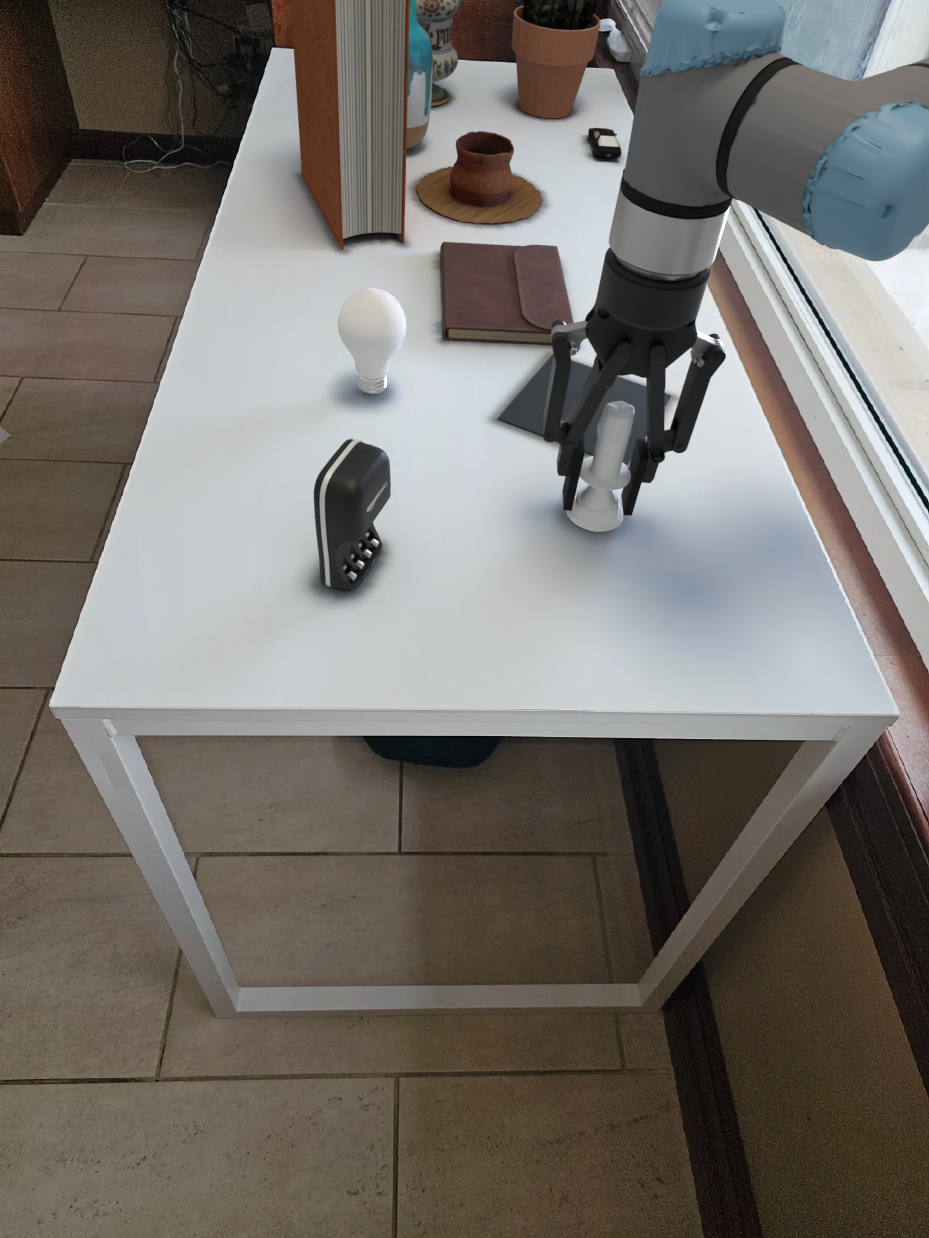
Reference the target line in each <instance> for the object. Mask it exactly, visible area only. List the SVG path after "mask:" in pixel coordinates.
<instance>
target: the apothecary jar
mask: <svg viewBox="0 0 929 1238" xmlns="http://www.w3.org/2000/svg"><path fill="white" fill-rule="evenodd" d="M462 2H463V1H462V0H416V11H417V22H418V24H419V26H421V27H422V28H423V29H424V30H426V32H427V33H428V35H429V37H430V41H431V47H432V62H433V74H432V99H431V107H438V106H442V105H444V104H446V103H447V102H449V100H450V96H449V95H448V91H447V90H446V89H445V88H443V87H441V86H440V85H438V84H437V83H435V82H439V81H443V80H445V79H447V78H448V77H450V76H451V75H452V74H453V73H454V72H455V71H456V69H457V67H458V64H459V56H458V53H457V51H456V49H455V48H454V47H453V46H452V37H453V35H452V34H453V21H454V20H453V19H454V14H455V13H457V12H458V11H459V9H460V8H461V5H462Z"/></svg>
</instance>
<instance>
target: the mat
mask: <svg viewBox="0 0 929 1238" xmlns="http://www.w3.org/2000/svg"><path fill="white" fill-rule="evenodd" d="M553 357H554V353H552V354H551V355H550V357H549V358H548V359H547V360H546V361H545V362H544V364H542V366H541V367H540V368H539V369H538V370H537V372H535V374H534V375H533V376H532V377H531V379H530V380H529V381H528V382H527V383H526V384H525V386H524V387H522V389H521V390H520V391H519V393H518V394H517V395H516V396H515V397H514V398H513V400H511V402H510V403H509V404H508V405H507V406H506V408H504V410H503V411H502V412H501V414H499V416H498V417H497V420H498V421H500V422H504V423H505V424H509V425H512V426H514V427H516V428H518V429H519V428H520V429H521V430H522V429H523V430H524V431H527V432H530V433H533V434H535V435H537V436H540V437H543V415H544V409H545V403H546V398H547V392H548V386H549V380H550V375H551V369H552V363H553ZM592 367H593V366H589V365H586V364H584V363H581V362H578V361H575V360H573V359H571V371H570V376H569V382H568V387H567V392H566V397H565V402H564V407H563V413H562V418H561V421H563V420H564V422H565V420H566V418H567V416H568V415H569V413H570V411H571V409H572V407H573V405H574V403H575V401H576V399H577V397H578V395H579V393H580V391H581V389H582V387H583V385H584V383H585V381H586V379H587V377H588V375H589V373H590V371H591V369H592ZM671 397H672V394H669V393H666V392H665V406H666V405H667V404H668V402H669V401H670V399H671ZM616 401H624V402H625V403H627V404H629V405H631V406H633V407H634V419H633V424H632V428H631V434H630V436H629V439H628V443H627V447H626V450H625V454H624V458H623V463H624V464H625V465H626V466H627V467H628V464H630V462H631V458H632V455H633V451H634V447H635V444H636V440H637V438H638V439H646V437H647V395H646V385H644V384H641V383H639V382H638V383H637V382H636V381H635V382H634V381H632V380H630V379H626V378H623V377H622V376H617V378H616V380H615V382H614V383H613V385H612V387H611V388H608V390H607V392H606V394H605V396H604V398H603V399H602V401H601V403H600V405H599V407H598V409H597V411H596V413H595V414H594V416H593V418H592V420H591V422H590V424H589V426H588V428H587V429H586V431H585V433H584V435H583V438H584V451H585V454H588V455H590V456H594V451H595V447H596V443H597V438H598V434H597V426H598V423H599V421H600V419H601V416H602V413H603V409H604V407H605V405H606V404H608V403H611V402H616Z"/></svg>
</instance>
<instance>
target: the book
mask: <svg viewBox="0 0 929 1238" xmlns="http://www.w3.org/2000/svg"><path fill="white" fill-rule="evenodd" d="M290 12H291V14H290V15H291V28H292V30H291V31H292V45H293V60H294V74H295V75H294V78H295V91H296V92H295V93H296V106H297V107H296V108H297V123H298V136H299V137H298V138H299V152H300V153H299V154H300V168H301V177H302V179H303V181H304V183H305V184H306V186H307V188H308V190H309V192H310V193H311V196H312V197H313V199H314V201H315V203H316V205H317V206H318V209H319V211H320V212H321V215H322V216H323V218H324V220H325V222H326V223H327V226H328V227H329V229H330V231H331V233H332V235H333V236H334V238H335V240H336V242H337V244H338V245H339V248H340V250H341V251H343V250H344V240H345V239H348V238H350V237H353V236H358V235H364V234H372V233H373V234H375V233H388V234H395V235H396V236H397V237H398V239H399V240H400V242H401V244H402V245H405V231H406V228H405V227H406V226H405V224H406V223H405V222H406V185H407V184H406V183H407V149H406V146H407V103H408V60H409V17H410V0H290Z"/></svg>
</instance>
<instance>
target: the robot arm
mask: <svg viewBox="0 0 929 1238" xmlns="http://www.w3.org/2000/svg"><path fill="white" fill-rule="evenodd" d="M786 14H787V13H786V10H785V8H784V6H783V5H782V4H781V3H780V2H778V1H776V0H662V1H661V3H660V5H659V7H658V10H657V12H656V16H655V20H654V24H653V27H652V32H651V36H650V39H649V43H648V48H647V51H646V55H645V59H644V62H643V65H642V66H641V68H640V70H639V84H638V89H637V97H636V101H635V106H634V107H635V108H634V113H633V119H632V125H631V131H630V138H629V142H628V149H627V154H626V155H627V156H626V161H625V166H624V168H623V169H622V174H621V180H620V183H619V184H620V185H619V189H618V193H617V198H616V203H615V209H614V213H613V217H612V221H611V227H610V230H609V234H608V244H609V248H608V249H607V250H606V251H605V254H604V259H603V264H602V269H601V273H600V274H601V275H600V279H599V284H598V289H597V293H596V294H597V295H596V297H595V302H594V305H593V307H592V308H591V309H590V311H588V313H587V314H586V316H585V318H584V320H581V321H577V322H574V323H572V324H568V325H566V323H565V322H564V321H563V320H555V321H554V322H553V323H552V325H551V338H552V345H551V347H552V354H554V357H553V363H552V369H551V375H550V380H549V386H548V392H547V398H546V403H545V409H544V415H543V436H542V437H543V441H544V442H546V443H554V442H555V443H557V444H559V447H558V451H557V452H558V453H557V458H556V472H557V476H559V477H564V481H563V486H562V491H561V493H562V509H563V510H562V511H566V510H567V511H572V507H573V503H574V499H575V495H576V494H577V489H578V485H579V481H580V478H581V477H580V472H581V468H582V463H583V460H584V459H585V455H586V453H585V451H584V438H583V435H584V433H585V431H586V429H587V428H588V426H589V424H590V422H591V420H592V418H593V416H594V414H595V413H596V411H597V409H598V407H599V405H600V403H601V401H602V399H603V398H604V396H605V394H606V392H607V390H608V388H611V387H612V385H613V383H614V382H615V380H616V378H617V376H618V377H623V376H630V375H631V376H632V375H633V376H636V377H639V378H642V379H646V381H645V383H646V384H645V386H646V395H647V435H646V438H644V439H638V438H637V440H636V444H635V447H634V451H633V455H632V458H631V460H630V461H629V466H628V468H629V470H630V472H631V480H630V482H629V483H628V484H627V485H626V486H625V487H623V488H622V491H621V495H620V498H621V507H622V509H623V515H624V516H628V517H629V516H630V517H632V516H633V513H634V509H635V507H636V503H637V500H638V496H639V492H640V489H641V486H642V483H643V484H651V483H652V482H653V481H654V480H655V478H656V473H657V470H658V468H659V464H661V463H662V462H664V460H666V453H669V452H674V453H676V454H682V453H685V452H686V451H687V450H688V447H689V444H690V441H691V438H692V435H693V433H694V430H695V426H696V423H697V420H698V417H699V415H700V412H701V409H702V405H703V402H704V401H705V397H706V394H707V390H708V388H709V386H710V385H709V384H710V382H711V379H712V377H713V376H714V375H715V373H716V372H717V370H718V369H719V368H720V367H721V366H722V364H723V363H724V362H725V360H726V359H727V357H726V356H727V354H726V351H725V348H724V344H723V340H722V337H721V335H720V334H719V333H716V332H715V333H714V332H713V333H711V334H708V335H707V334H705V333H702V332H700V331H698V329H697V322H696V321H697V318H698V315H699V312H700V308H701V305H702V302H703V298H704V295H705V293H706V289H707V285H708V282H709V279H710V275H711V269H710V267H711V266H712V265H713V263H714V262H715V260H716V256H717V253H718V249H719V246H720V242H721V240H722V239H721V238H722V235H723V233H724V229H725V225H726V222H727V217H728V216H729V211H730V208H731V205H732V203H733V200H735V201H739V202H742V203H744V204H746V205H748V206H749V207H751V208H754V210H755V209H756V210H757V211H759V212H761V213H763V214H765V215H767V216H769V217H771V218H773V219H775V220H777V221H779V222H781V223H783V224H785V225H786V226H789V227H791V228H792V229H794V230H796V231H799V232H800V233H803V234H805V235H806V236H808V237H810V238H811V239H812V240H813V241H815V242H816V243H817V244H819V245H821V246H825V247H827V248H829V249H832V250H839V251H842V252H843V253H847V254H850V255H852V256H855V257H857V258H860V259H863V260H866V261H868V262H883V261H887V260H890V259H892V258H894V257H896V256H897V255H899V254H900V253H902V252H903V251H905V250H906V249H908V247H909V246H910V244H911V243H912V242H913V240H914V239H915V238H916V237H918V236H921V234H923V232H924V231H925V230H926V228H927V227H928V226H929V57H926V58H923V59H920V60H917V61H915V62H911V63H909V64H905V65H901V66H897V67H896V68H895V67H894V68H893V69H889V70H886V71H883V72H880V73H877V74H873V75H871V76H866V77H864V78H861V79H857V80H849V79H845V78H841V77H838V76H835V75H832V74H829V73H826V72H823V71H820V70H817V69H815V68H811V67H809V66H806V65H804V64H803V63H801V62H797V61H795V60H793V59H792V58H791V57H788V56H786V55H784V54H781V53H780V52H781V51H782V47H783V44H784V42H785V41H784V34H785V30H786V26H787V25H786V24H787V15H786ZM584 340H588V342H589V343H590V345H591V347H592V349H593V351H594V353H595V357H594V360H593V365H592V366H591V367H592V369H591V371H590V373H589V375H588V377H587V379H586V381H585V383H584V385H583V387H582V389H581V391H580V393H579V395H578V397H577V399H576V401H575V403H574V405H573V407H572V409H571V411H570V413H569V415H568V416H567V418H566V420H565V422H564V420H563V421H561V418H562V413H563V407H564V402H565V397H566V392H567V387H568V382H569V376H570V371H571V360H572V357H574V356H576V355H577V353H578V352H579V351H580V350H581V344H582V342H583V341H584ZM689 350H690V353H689V354H690V358H691V360H690V363H689V366H688V369H687V371H686V375H685V379H684V382H683V386H682V389H681V391H680V395H679V398H678V401H677V403H676V407H675V411H674V413H673V418H672V420H671V424H670V427H669V429H665V417H666V416H665V411H666V409H665V408H666V405H665V393H666V383H667V382H666V379H667V377H666V376H667V373H666V372H667V368H669V367H670V366H671V365H672V364H673V363H675V361H677V360H678V359H680V357H682V356H683V355H684V354H685V353H687V352H688V351H689Z"/></svg>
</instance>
